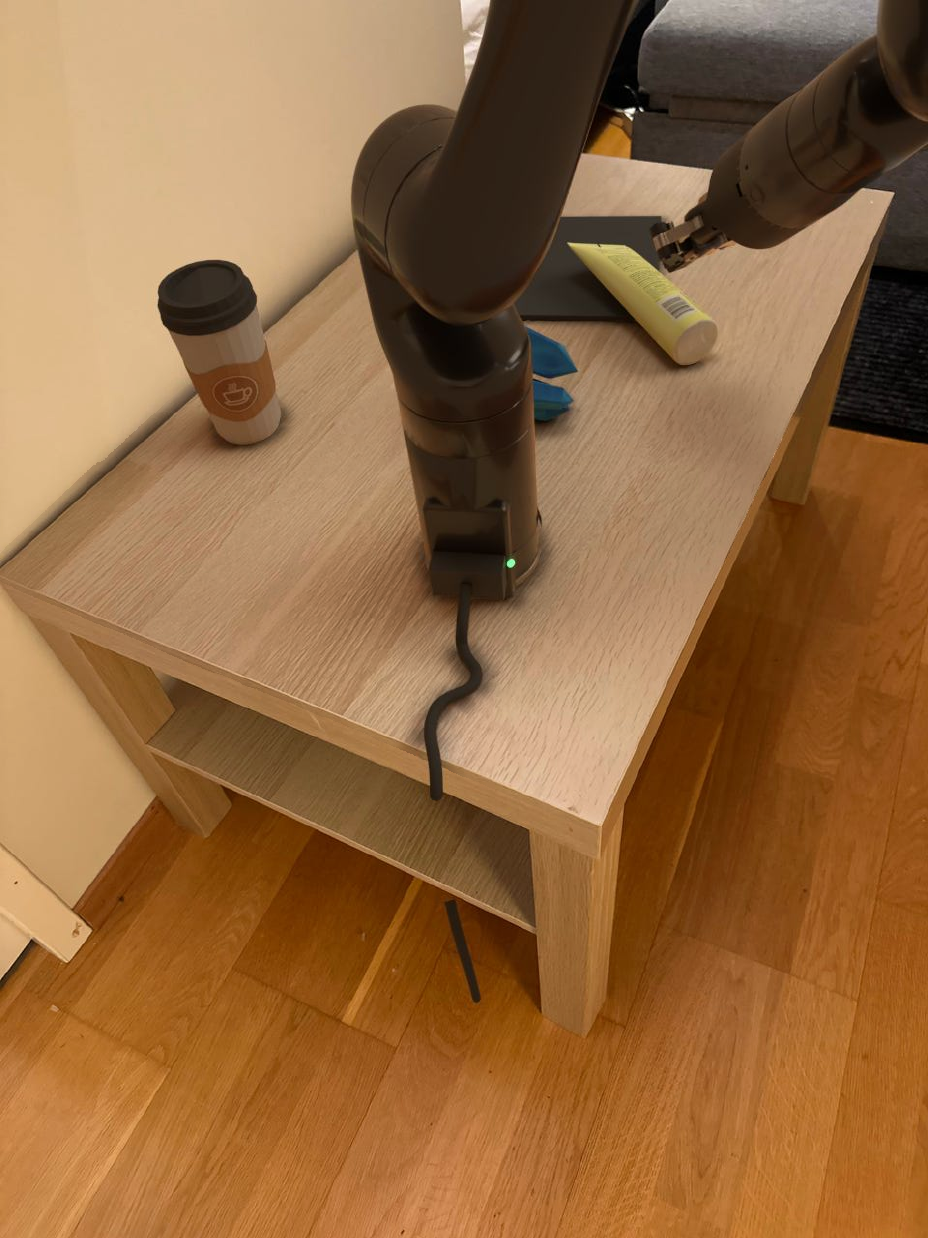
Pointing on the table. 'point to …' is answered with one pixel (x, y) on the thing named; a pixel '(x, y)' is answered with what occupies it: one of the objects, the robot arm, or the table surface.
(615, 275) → the tube
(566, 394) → the crystal
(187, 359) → the coffee cup
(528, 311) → the mat
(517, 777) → the table surface
